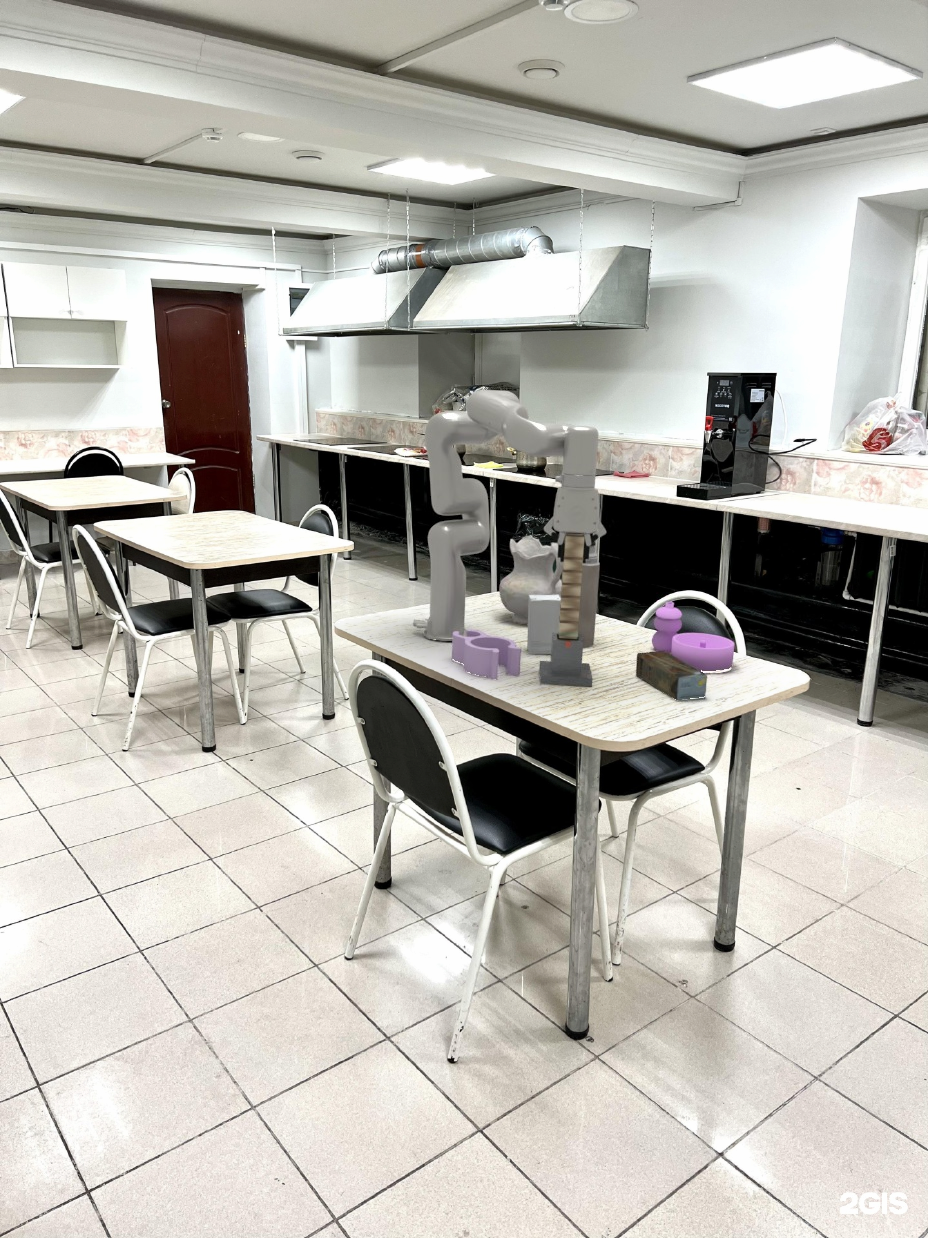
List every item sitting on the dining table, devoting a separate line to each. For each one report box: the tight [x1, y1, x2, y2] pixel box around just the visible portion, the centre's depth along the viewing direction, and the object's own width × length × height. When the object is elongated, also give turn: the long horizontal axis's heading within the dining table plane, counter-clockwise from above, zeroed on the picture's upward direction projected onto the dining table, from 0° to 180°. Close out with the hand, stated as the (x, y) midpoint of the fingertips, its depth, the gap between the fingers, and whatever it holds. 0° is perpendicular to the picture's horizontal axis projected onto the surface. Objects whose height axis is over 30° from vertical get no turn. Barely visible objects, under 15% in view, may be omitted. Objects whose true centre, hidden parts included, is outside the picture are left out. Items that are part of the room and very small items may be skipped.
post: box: [558, 533, 585, 639], centre depth 212 cm, size 4×4×24 cm
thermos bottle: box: [578, 540, 600, 648], centre depth 243 cm, size 8×8×28 cm
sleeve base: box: [538, 632, 594, 688], centre depth 216 cm, size 12×12×10 cm
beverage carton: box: [635, 651, 708, 701], centre depth 212 cm, size 8×19×7 cm, turn 19°
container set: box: [651, 601, 735, 671], centre depth 234 cm, size 25×15×13 cm, turn 28°
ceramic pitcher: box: [498, 535, 563, 625], centre depth 266 cm, size 22×20×25 cm
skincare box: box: [526, 595, 561, 655], centre depth 236 cm, size 8×6×15 cm
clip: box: [451, 629, 522, 681], centre depth 222 cm, size 20×12×7 cm, turn 34°
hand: (572, 560), depth 210 cm, fingers closed on post, 4 cm apart
